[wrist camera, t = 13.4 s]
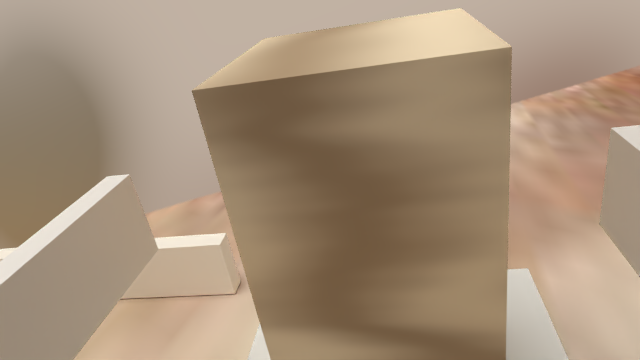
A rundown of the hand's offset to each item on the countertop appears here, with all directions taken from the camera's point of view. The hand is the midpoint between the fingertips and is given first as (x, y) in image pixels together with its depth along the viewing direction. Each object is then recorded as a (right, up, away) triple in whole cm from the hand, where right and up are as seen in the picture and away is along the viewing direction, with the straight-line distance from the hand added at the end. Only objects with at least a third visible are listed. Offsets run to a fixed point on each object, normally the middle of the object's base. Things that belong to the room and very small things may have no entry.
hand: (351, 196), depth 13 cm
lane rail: (-12, -6, +12) cm, 18 cm away
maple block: (+2, -7, +3) cm, 8 cm away
